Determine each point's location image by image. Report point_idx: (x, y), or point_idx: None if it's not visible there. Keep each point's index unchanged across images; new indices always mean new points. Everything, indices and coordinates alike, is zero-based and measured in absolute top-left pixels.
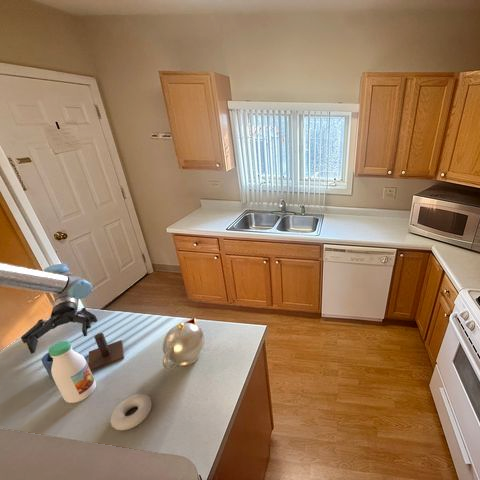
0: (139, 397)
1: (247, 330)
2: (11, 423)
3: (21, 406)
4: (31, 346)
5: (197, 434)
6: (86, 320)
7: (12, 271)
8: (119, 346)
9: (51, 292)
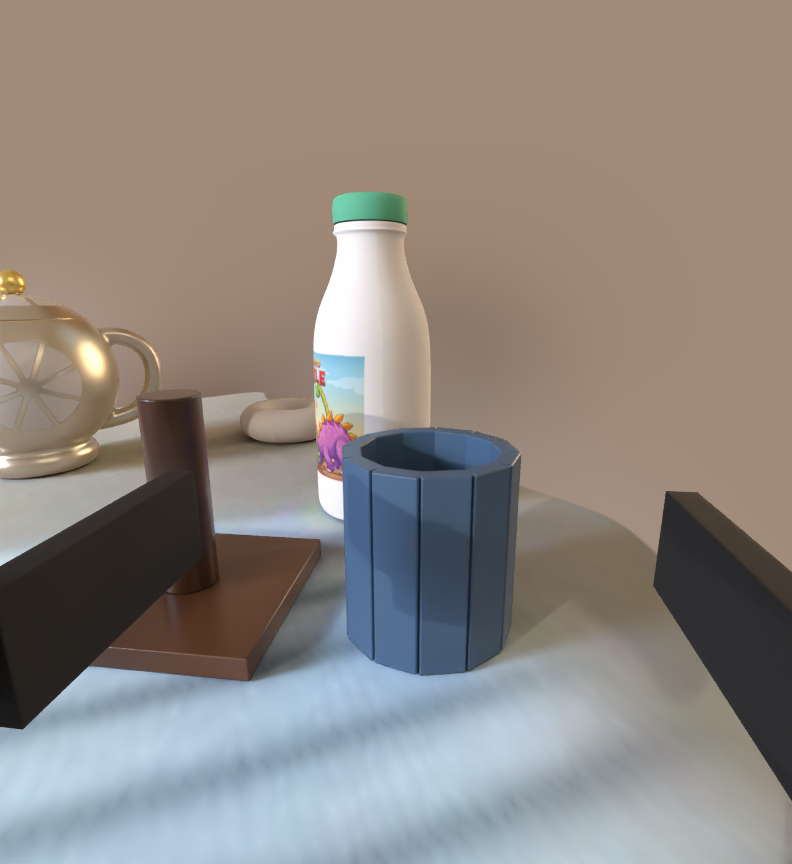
0: (258, 407)
1: None
2: (593, 511)
3: (592, 545)
4: (669, 494)
5: (235, 402)
6: None
7: None
8: None
9: None
